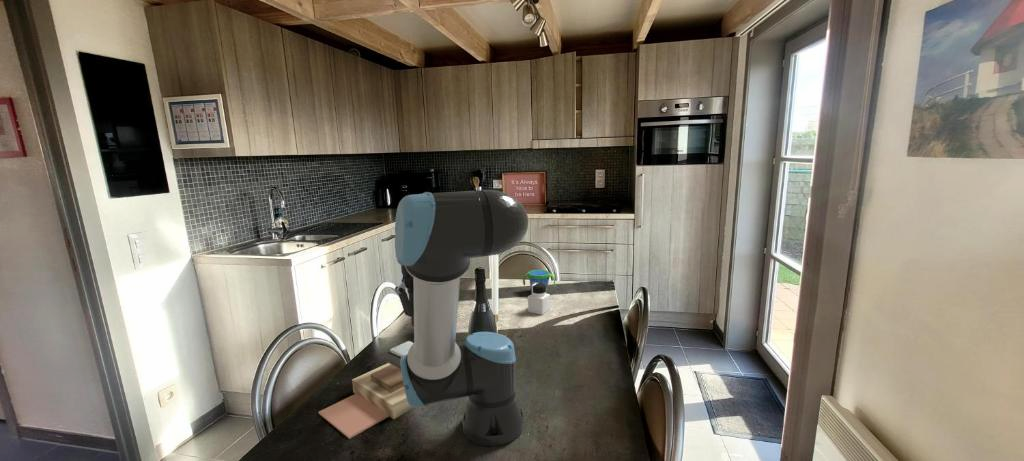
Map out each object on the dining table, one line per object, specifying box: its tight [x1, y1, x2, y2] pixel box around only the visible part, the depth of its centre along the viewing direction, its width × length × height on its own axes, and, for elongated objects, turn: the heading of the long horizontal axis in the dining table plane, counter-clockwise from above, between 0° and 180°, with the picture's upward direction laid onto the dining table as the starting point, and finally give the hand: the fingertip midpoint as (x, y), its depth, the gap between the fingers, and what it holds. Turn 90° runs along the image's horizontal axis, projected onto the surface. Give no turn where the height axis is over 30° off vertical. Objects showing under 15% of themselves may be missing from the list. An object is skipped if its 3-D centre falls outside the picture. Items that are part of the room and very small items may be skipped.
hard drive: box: [389, 340, 414, 358], centre depth 141 cm, size 2×8×12 cm
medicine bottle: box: [527, 283, 551, 316], centre depth 174 cm, size 7×7×12 cm
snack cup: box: [522, 269, 556, 294], centre depth 198 cm, size 16×10×10 cm
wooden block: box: [370, 364, 404, 393], centre depth 115 cm, size 10×7×2 cm
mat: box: [317, 393, 390, 440], centre depth 107 cm, size 16×11×1 cm
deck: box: [351, 362, 414, 420], centre depth 115 cm, size 20×12×4 cm, turn 50°
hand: (419, 335), depth 122 cm, fingers closed
